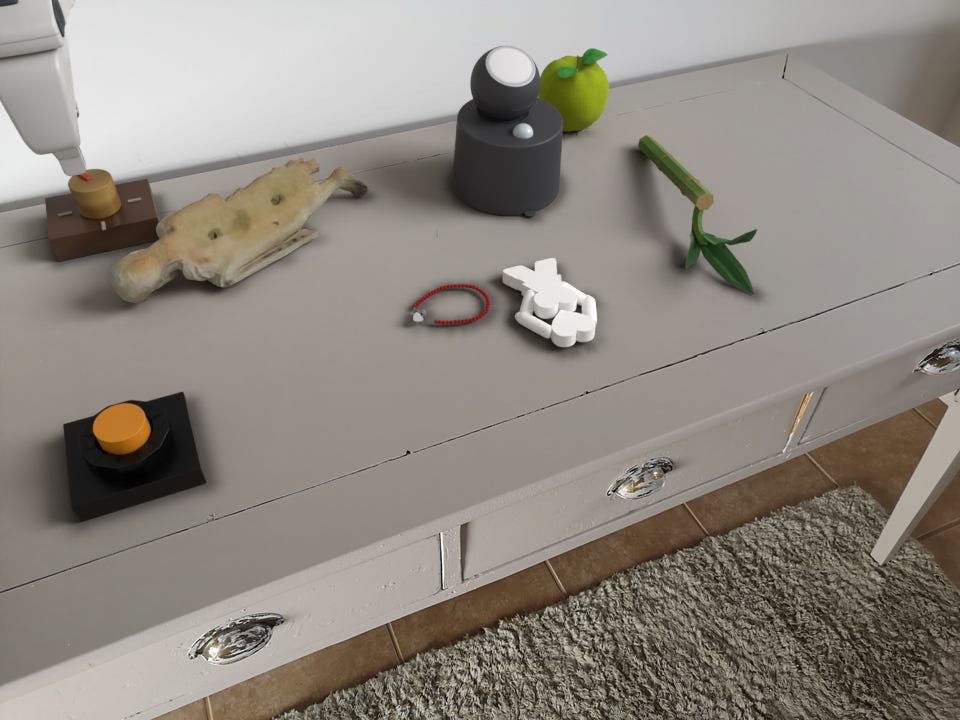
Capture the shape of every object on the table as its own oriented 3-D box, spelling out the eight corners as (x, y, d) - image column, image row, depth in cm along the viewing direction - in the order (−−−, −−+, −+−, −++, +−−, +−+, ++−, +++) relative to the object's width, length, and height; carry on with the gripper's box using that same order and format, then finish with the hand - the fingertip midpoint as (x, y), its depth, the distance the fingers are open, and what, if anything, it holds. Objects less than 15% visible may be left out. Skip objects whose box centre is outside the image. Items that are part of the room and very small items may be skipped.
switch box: (80, 522, 62) (62, 495, 59) (71, 439, 68) (54, 410, 65) (207, 483, 65) (195, 455, 62) (189, 406, 71) (178, 377, 68)
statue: (315, 150, 95) (104, 294, 82) (317, 109, 89) (89, 258, 75) (375, 204, 94) (171, 359, 80) (382, 167, 87) (161, 328, 74)
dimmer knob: (129, 205, 86) (119, 176, 83) (95, 224, 84) (83, 194, 81) (105, 190, 88) (94, 161, 85) (70, 208, 85) (58, 179, 82)
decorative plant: (675, 131, 102) (789, 231, 78) (658, 190, 107) (760, 302, 83) (632, 127, 101) (735, 227, 77) (616, 187, 105) (709, 299, 81)
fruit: (616, 128, 107) (629, 58, 99) (568, 151, 102) (578, 79, 95) (569, 101, 111) (578, 32, 104) (521, 122, 107) (527, 51, 100)
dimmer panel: (59, 263, 84) (48, 240, 81) (54, 218, 89) (43, 195, 87) (165, 240, 87) (157, 217, 84) (154, 198, 92) (146, 175, 90)
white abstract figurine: (538, 355, 76) (539, 338, 75) (491, 288, 84) (491, 272, 83) (617, 333, 79) (620, 316, 77) (564, 270, 87) (565, 254, 86)
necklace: (417, 335, 78) (417, 328, 77) (401, 297, 82) (400, 289, 81) (498, 317, 80) (498, 310, 79) (478, 280, 84) (479, 273, 83)
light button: (102, 461, 62) (95, 448, 61) (97, 424, 65) (90, 411, 63) (154, 446, 63) (148, 433, 62) (147, 410, 66) (141, 397, 65)
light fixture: (486, 103, 78) (435, 42, 87) (480, 230, 90) (436, 165, 99) (601, 81, 82) (541, 25, 91) (581, 206, 94) (530, 145, 103)
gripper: (-35, -59, 65) (32, 93, 76) (-42, 50, 53) (39, 214, 63) (46, -68, 67) (100, 81, 77) (57, 35, 55) (120, 197, 65)
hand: (73, 142), depth 70 cm, fingers open, 8 cm apart
